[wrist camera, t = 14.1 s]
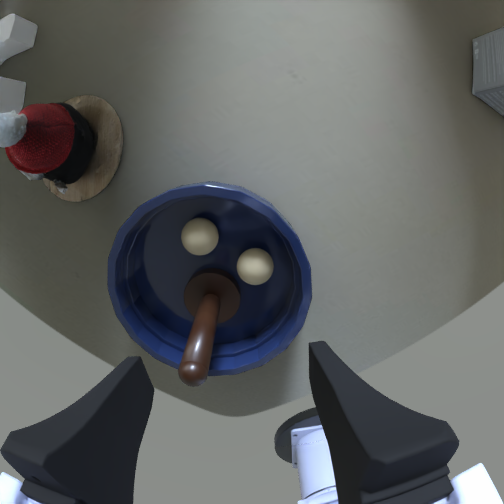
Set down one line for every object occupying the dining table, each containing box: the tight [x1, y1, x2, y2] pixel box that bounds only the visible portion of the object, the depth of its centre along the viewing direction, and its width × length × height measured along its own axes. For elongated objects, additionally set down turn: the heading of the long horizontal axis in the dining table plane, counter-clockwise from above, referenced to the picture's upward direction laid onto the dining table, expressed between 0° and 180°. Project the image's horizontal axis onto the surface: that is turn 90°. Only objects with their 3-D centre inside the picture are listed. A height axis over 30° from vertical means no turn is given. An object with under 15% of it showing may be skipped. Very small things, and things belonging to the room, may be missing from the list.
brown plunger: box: [178, 268, 241, 387], centre depth 17 cm, size 4×4×10 cm
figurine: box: [0, 95, 123, 202], centre depth 15 cm, size 8×10×12 cm
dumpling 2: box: [237, 248, 274, 285], centre depth 19 cm, size 2×2×2 cm
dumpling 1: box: [181, 218, 219, 255], centre depth 19 cm, size 2×2×2 cm
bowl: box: [108, 181, 312, 376], centre depth 20 cm, size 13×13×4 cm
